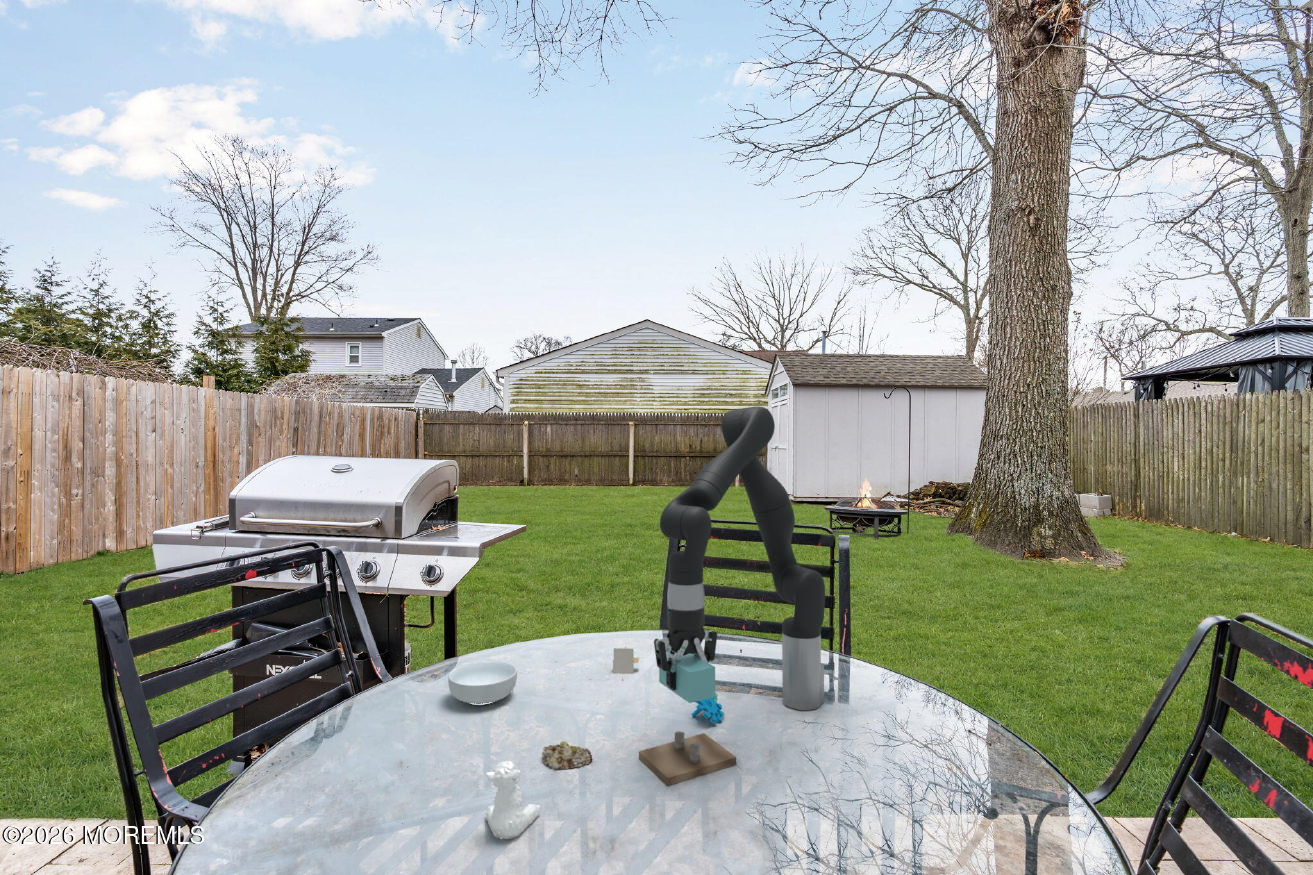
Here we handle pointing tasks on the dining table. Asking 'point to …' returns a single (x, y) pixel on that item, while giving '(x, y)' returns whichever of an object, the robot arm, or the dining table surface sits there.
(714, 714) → the blue lumpy branched piece
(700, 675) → the teal rectangular block
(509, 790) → the white creature statuette
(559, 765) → the mineral rock
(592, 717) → the dining table surface
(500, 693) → the cereal bowl
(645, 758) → the base plate
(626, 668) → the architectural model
